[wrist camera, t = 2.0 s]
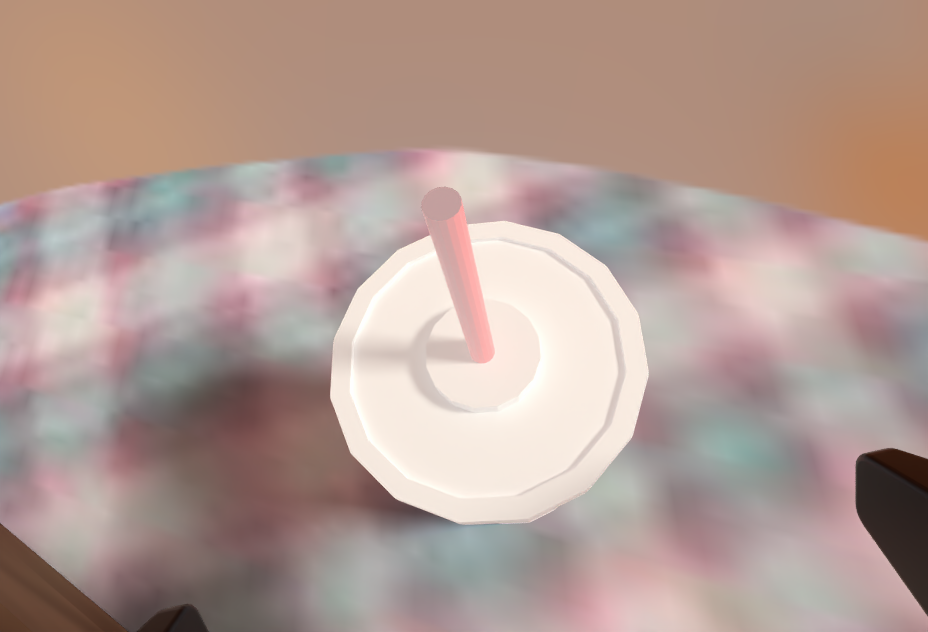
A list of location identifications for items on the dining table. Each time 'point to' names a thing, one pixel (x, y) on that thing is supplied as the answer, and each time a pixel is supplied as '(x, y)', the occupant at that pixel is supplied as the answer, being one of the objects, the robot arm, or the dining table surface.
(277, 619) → the dining table surface
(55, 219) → the dining table surface
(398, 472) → the beverage cup
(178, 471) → the dining table surface
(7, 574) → the wooden compartment tray
